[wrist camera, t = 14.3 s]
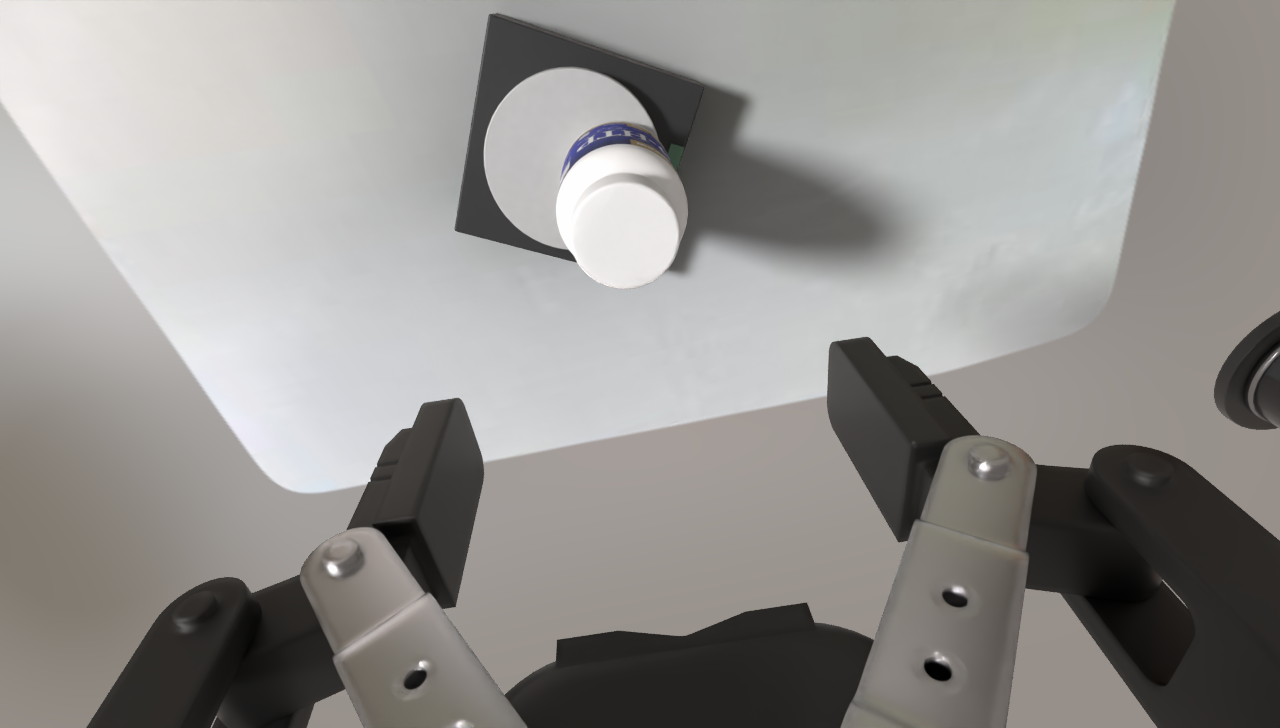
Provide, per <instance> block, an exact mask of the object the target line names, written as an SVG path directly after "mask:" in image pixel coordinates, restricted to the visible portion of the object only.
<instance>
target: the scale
mask: <svg viewBox="0 0 1280 728" xmlns="http://www.w3.org/2000/svg"><path fill="white" fill-rule="evenodd" d="M703 91H704V87H703V86H702V85H701V84H699V83H698V82H696V81H694V80H691V79H688V78H685V77H682V76H679V75H677V74H674V73H671V72H668V71H665V70H662V69H659V68H656V67H653V66H650V65H647V64H644V63H641V62H638V61H636V60H633V59H630V58H627V57H624V56H621V55H618V54H615V53H612V52H609V51H606V50H603V49H600V48H598V47H595V46H592V45H589V44H586V43H583V42H580V41H577V40H574V39H571V38H568V37H565V36H562V35H559V34H557V33H554V32H551V31H548V30H545V29H542V28H539V27H536V26H533V25H530V24H527V23H524V22H521V21H518V20H516V19H513V18H510V17H507V16H504V15H501V14H498V13H497V14H489V17H488V23H487V29H486V36H485V42H484V48H483V54H482V61H481V67H480V73H479V80H478V86H477V92H476V98H475V105H474V111H473V117H472V123H471V130H470V136H469V142H468V149H467V155H466V161H465V167H464V174H463V180H462V186H461V192H460V199H459V205H458V211H457V218H456V224H455V231H457V232H461V233H465V234H469V235H473V236H477V237H480V238H484V239H488V240H492V241H496V242H500V243H504V244H507V245H511V246H515V247H519V248H523V249H527V250H531V251H534V252H538V253H542V254H546V255H550V256H554V257H558V258H561V259H565V260H569V261H573V262H577V261H576V259H575V257H574V255H573V254H572V253H571V252H570V251H569V249H568V248H567V246H566V245H565V243H564V241H563V239H562V237H561V234H560V232H559V228H558V224H557V218H556V201H557V194H558V189H559V184H560V178H561V173H562V168H563V164H564V161H565V158H566V155H567V153H568V151H569V149H570V147H571V146H572V144H573V143H574V141H575V140H576V139H577V138H578V137H579V136H580V135H581V134H582V133H584V132H585V131H586V130H588V129H589V128H591V127H593V126H595V125H598V124H601V123H604V122H609V121H625V122H630V123H633V124H636V125H639V126H641V127H643V128H645V129H646V130H648V131H649V132H651V133H652V134H653V135H654V136H655V137H656V138H657V139H658V140H659V141H660V142H661V144H662V145H663V147H664V149H665V150H666V152H667V154H668V156H669V158H670V160H671V162H672V164H673V166H674V168H675V170H676V172H677V170H678V167H679V164H680V161H681V158H682V155H683V152H684V149H685V146H686V143H687V139H688V136H689V133H690V130H691V127H692V124H693V121H694V118H695V115H696V112H697V109H698V106H699V103H700V100H701V97H702V94H703Z"/></svg>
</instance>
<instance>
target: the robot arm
mask: <svg viewBox="0 0 1280 728" xmlns="http://www.w3.org/2000/svg"><path fill="white" fill-rule="evenodd" d="M1243 401H1244V404H1245V406H1246V408H1247V409H1248V410H1249V411H1250V412H1251V413H1253V414H1254V415H1256V416H1258V417H1259V418H1261V419H1263V420H1265V421H1268V422H1270V423H1272V424H1273V425H1275V426H1277V427H1278V428H1280V340H1279V341H1278V342H1277V343H1275V344H1274V345H1273V346H1272V347H1271V348H1270V349H1269V350H1268V351H1267V352H1266V353H1264V355H1263V356H1262V357H1261V358H1260V359H1259V360H1258V362H1257V363H1256V364H1255V365H1254V367H1253V368H1252V370H1251V372H1250V373H1249V375H1248V377H1247V379H1246V382H1245V384H1244V388H1243ZM827 407H828V414H829V419H830V422H831V425H832V427H833V430H834V431H835V433H836V435H837V437H838V438H839V440H840V442H841V443H842V445H843V447H844V449H845V451H846V452H847V454H848V456H849V457H850V459H851V461H852V462H853V464H854V466H855V468H856V470H857V471H858V473H859V475H860V476H861V478H862V480H863V482H864V483H865V485H866V487H867V489H868V490H869V492H870V494H871V496H872V497H873V499H874V501H875V502H876V504H877V506H878V508H879V509H880V511H881V513H882V515H883V516H884V518H885V520H886V522H887V523H888V525H889V527H890V528H891V530H892V532H893V534H894V535H895V537H896V539H897V541H898V542H904V541H907V544H906V547H905V550H904V553H903V556H902V559H901V562H900V565H899V568H898V571H897V574H896V577H895V580H894V583H893V585H892V589H891V591H890V594H889V597H888V600H887V603H886V606H885V609H884V612H883V615H882V618H881V621H880V624H879V627H878V630H877V633H876V636H875V639H874V640H873V639H871V638H869V637H866V636H864V635H862V634H859V633H857V632H855V631H852V630H848V629H845V628H842V627H839V626H834V625H829V624H823V623H814V620H813V618H812V615H811V613H810V610H809V607H808V605H807V603H801V604H795V605H787V606H781V607H774V608H768V609H761V610H754V611H748V612H744V613H741V614H739V615H737V616H734V617H732V618H729V619H727V620H724V621H722V622H719V623H717V624H714V625H712V626H710V627H707V628H705V629H702V630H700V631H697V632H695V633H693V634H690V635H687V636H670V635H659V634H648V633H637V632H626V631H614V632H607V633H601V634H594V635H588V636H581V637H574V638H567V639H560V640H557V653H556V661H555V662H553V663H550V664H548V665H546V666H544V667H542V668H541V669H539V670H537V671H535V672H533V673H532V674H530V675H529V676H527V677H526V678H524V679H523V680H522V681H520V682H519V683H518V684H517V685H515V686H514V687H513V688H512V689H511V690H510V691H508V692H507V693H506V694H505V695H504V694H503V692H502V691H501V690H500V688H499V687H498V686H497V684H496V683H495V681H494V680H493V679H492V677H491V676H490V674H489V673H488V672H487V670H486V669H485V668H484V666H483V665H482V663H481V662H480V661H479V659H478V658H477V656H476V655H475V654H474V652H473V651H472V650H471V648H470V647H469V645H468V644H467V643H466V641H465V640H464V639H463V637H462V636H461V634H460V633H459V632H458V630H457V629H456V627H455V626H454V625H453V623H452V622H451V621H450V619H449V618H448V616H447V615H446V614H445V612H444V611H443V609H445V608H451V607H456V602H457V598H458V593H459V588H460V584H461V580H462V575H463V570H464V566H465V561H466V557H467V553H468V548H469V544H470V539H471V534H472V530H473V525H474V521H475V516H476V512H477V507H478V503H479V498H480V493H481V489H482V485H483V478H484V468H483V459H482V455H481V452H480V449H479V446H478V443H477V440H476V437H475V434H474V431H473V429H472V426H471V423H470V420H469V417H468V414H467V411H466V409H465V406H464V404H463V402H462V400H461V399H460V398H454V399H447V400H440V401H434V402H427V403H424V404H423V405H422V406H421V408H420V410H419V413H418V415H417V418H416V420H415V422H414V425H413V427H412V428H408V429H402V430H401V431H400V432H399V433H398V434H397V435H396V436H395V437H394V438H393V439H392V440H391V441H390V442H389V443H388V444H387V445H386V446H385V448H384V450H383V452H382V454H381V456H380V458H379V461H378V463H377V467H375V469H374V471H373V474H372V476H371V478H370V479H371V482H368V484H367V487H366V489H365V491H364V493H363V495H362V497H361V500H360V502H359V504H358V506H357V508H356V511H355V513H354V515H353V517H352V519H351V522H350V524H349V526H348V528H347V530H346V531H344V532H341V533H339V534H337V535H335V536H333V537H331V538H329V539H328V540H326V541H325V542H323V543H322V544H321V545H319V546H318V547H317V548H316V549H315V550H314V551H313V552H312V553H311V554H310V555H309V556H308V558H307V559H306V561H305V562H304V564H303V566H302V568H301V572H300V575H297V576H295V577H293V578H290V579H288V580H285V581H283V582H280V583H277V584H275V585H272V586H270V587H267V588H265V589H262V590H259V591H257V592H255V593H251V592H250V591H249V589H248V587H247V586H246V585H245V583H244V582H243V581H242V580H240V579H237V578H233V577H225V578H218V579H214V580H211V581H208V582H205V583H203V584H201V585H198V586H196V587H194V588H193V589H191V590H189V591H188V592H186V593H184V594H183V595H182V596H180V597H178V598H177V599H176V600H175V601H173V602H172V603H171V604H170V605H169V606H168V607H167V608H166V609H165V610H164V611H163V612H162V613H161V614H160V615H159V617H158V618H157V619H156V621H155V622H154V623H153V625H152V627H151V628H150V630H149V631H148V633H147V634H146V636H145V638H144V639H143V640H142V642H141V644H140V645H139V647H138V648H137V650H136V651H135V653H134V654H133V656H132V658H131V659H130V661H129V662H128V664H127V665H126V667H125V669H124V670H123V672H122V673H121V675H120V676H119V678H118V680H117V681H116V683H115V684H114V686H113V687H112V689H111V690H110V692H109V693H108V695H107V697H106V698H105V700H104V701H103V703H102V704H101V706H100V708H99V709H98V711H97V712H96V714H95V715H94V717H93V718H92V720H91V722H90V723H89V725H88V726H87V728H210V727H211V725H212V723H213V721H214V719H215V716H217V718H216V720H215V722H214V725H213V727H212V728H306V727H307V725H308V721H309V719H310V716H311V712H312V710H313V706H314V704H315V703H316V702H318V701H320V700H322V699H324V698H327V697H329V696H331V695H333V694H336V693H338V692H340V691H342V690H344V689H346V691H347V693H348V695H349V697H350V699H351V701H352V703H353V706H354V708H355V710H356V712H357V714H358V716H359V718H360V721H361V723H362V725H363V727H364V728H1006V723H1007V716H1008V709H1009V708H1008V707H1009V700H1010V694H1011V687H1012V679H1013V672H1014V665H1015V658H1016V650H1017V643H1018V636H1019V629H1020V621H1021V614H1022V607H1023V599H1024V592H1025V588H1027V589H1034V590H1042V591H1050V592H1058V593H1061V595H1062V596H1063V598H1064V599H1065V600H1066V602H1067V603H1068V604H1069V606H1070V607H1071V608H1072V610H1073V611H1074V613H1075V614H1076V616H1077V617H1078V618H1079V620H1080V621H1081V623H1082V624H1083V625H1084V627H1085V628H1086V629H1087V630H1088V632H1089V634H1090V635H1091V636H1092V638H1093V639H1094V640H1095V641H1096V643H1097V645H1098V646H1099V647H1100V649H1101V650H1102V652H1103V653H1104V654H1105V656H1106V657H1107V658H1108V660H1109V661H1110V663H1111V664H1112V665H1113V667H1114V668H1115V669H1116V671H1117V672H1118V674H1119V675H1120V676H1121V678H1122V679H1123V681H1124V682H1125V683H1126V685H1127V686H1128V687H1129V689H1130V690H1131V692H1132V693H1133V694H1134V696H1135V697H1136V699H1137V700H1138V701H1139V703H1140V704H1141V705H1142V707H1143V708H1144V710H1145V711H1146V712H1147V714H1148V715H1149V717H1150V718H1151V719H1152V721H1153V722H1154V723H1155V725H1156V726H1157V728H1280V541H1279V540H1278V539H1277V538H1276V537H1274V536H1273V535H1272V534H1271V533H1269V532H1268V531H1267V530H1266V529H1265V528H1264V527H1263V526H1261V525H1260V524H1259V523H1258V522H1257V521H1255V520H1254V519H1253V518H1252V517H1251V516H1249V515H1248V514H1247V513H1246V512H1245V511H1243V510H1242V509H1241V508H1240V507H1238V506H1237V505H1236V504H1235V503H1234V502H1233V501H1231V500H1230V499H1229V498H1228V497H1227V496H1225V495H1224V494H1223V493H1222V492H1220V491H1219V490H1218V489H1217V488H1216V487H1215V486H1213V485H1212V484H1211V483H1210V482H1209V481H1207V480H1206V479H1205V478H1204V477H1203V476H1201V475H1200V474H1199V473H1198V472H1197V471H1195V470H1194V469H1193V468H1192V467H1190V466H1189V465H1187V464H1186V463H1185V462H1183V461H1181V460H1180V459H1178V458H1176V457H1173V456H1172V455H1169V454H1167V453H1164V452H1162V451H1159V450H1155V449H1152V448H1147V447H1143V446H1136V445H1114V446H1108V447H1105V448H1102V449H1101V450H1099V451H1098V452H1097V453H1095V455H1094V457H1093V459H1092V462H1091V465H1090V468H1089V469H1085V468H1071V467H1058V466H1045V465H1037V464H1035V463H1034V461H1033V460H1032V458H1031V457H1030V456H1029V455H1028V454H1027V453H1026V452H1024V451H1023V450H1022V449H1020V448H1019V447H1017V446H1016V445H1014V444H1011V443H1009V442H1007V441H1004V440H1001V439H998V438H994V437H988V436H981V435H980V434H979V433H978V432H977V431H976V430H975V429H974V428H973V427H972V425H971V424H970V423H969V422H968V421H967V420H966V419H965V418H964V417H963V416H962V415H961V413H960V412H959V411H958V410H957V409H956V408H955V407H954V406H953V405H952V404H951V402H950V401H949V400H948V399H947V398H946V397H945V396H944V397H943V396H942V393H941V391H940V390H939V389H938V388H937V387H936V386H935V385H934V384H931V381H930V379H928V377H927V376H926V375H925V374H924V373H923V372H922V371H921V370H920V368H919V367H917V366H916V365H914V364H912V363H910V362H908V361H906V360H904V359H902V358H900V357H898V356H890V357H886V356H885V355H884V354H883V353H882V351H881V350H880V349H879V348H878V347H877V346H876V344H875V343H874V342H873V341H872V340H871V339H870V338H869V337H862V338H856V339H849V340H842V341H836V342H832V343H831V345H830V348H829V364H828V391H827ZM1162 580H1164V581H1165V582H1166V583H1167V584H1168V585H1169V586H1170V587H1171V588H1172V590H1173V591H1174V592H1175V593H1176V594H1177V595H1178V596H1179V597H1180V598H1181V600H1182V601H1183V602H1184V603H1185V605H1186V606H1187V607H1186V606H1185V605H1184V604H1183V603H1182V602H1181V601H1180V600H1179V599H1178V598H1177V597H1176V595H1175V594H1174V593H1173V592H1172V591H1171V590H1170V589H1169V588H1168V587H1167V586H1166V584H1164V582H1163V581H1162ZM1188 609H1189V610H1188Z"/></svg>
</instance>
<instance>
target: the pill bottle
mask: <svg viewBox="0 0 1280 728" xmlns="http://www.w3.org/2000/svg"><path fill="white" fill-rule="evenodd" d="M556 218H557V224H558V228H559V232H560V234H561V237H562V239H563V241H564V243H565V245H566V246H567V248H568V249H569V251H570V252H571V253H572V254H573V255H574V257H575V259H576V261H577V263H578V264H579V266H580V267H581V268H582V270H583V271H584V272H585V273H586V274H587V275H588V276H590V277H591V278H592V279H594V280H595V281H597V282H599V283H601V284H603V285H605V286H609V287H613V288H618V289H631V288H637V287H641V286H644V285H647V284H649V283H651V282H653V281H654V280H656V279H657V278H659V277H660V276H661V275H662V274H663V273H664V272H665V271H666V270H667V269H668V268H669V267H670V265H671V264H672V262H673V261H674V259H675V257H676V255H677V252H678V248H679V244H680V241H681V239H682V237H683V235H684V232H685V229H686V225H687V218H688V203H687V197H686V193H685V190H684V187H683V184H682V182H681V180H680V178H679V176H678V174H677V172H676V170H675V168H674V166H673V164H672V162H671V160H670V158H669V156H668V154H667V152H666V150H665V149H664V147H663V145H662V144H661V142H660V141H659V140H658V139H657V138H656V137H655V136H654V135H653V134H652V133H651V132H649V131H648V130H646V129H645V128H643V127H641V126H639V125H636V124H633V123H630V122H625V121H609V122H604V123H601V124H598V125H595V126H593V127H591V128H589V129H588V130H586V131H585V132H584V133H582V134H581V135H580V136H579V137H578V138H577V139H576V140H575V141H574V143H573V144H572V146H571V147H570V149H569V151H568V153H567V155H566V158H565V161H564V164H563V168H562V173H561V178H560V184H559V189H558V194H557V201H556Z"/></svg>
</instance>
